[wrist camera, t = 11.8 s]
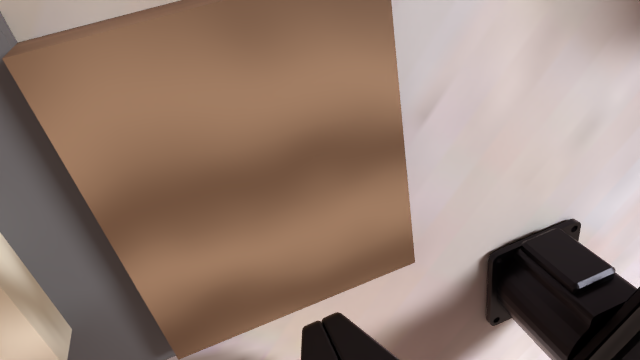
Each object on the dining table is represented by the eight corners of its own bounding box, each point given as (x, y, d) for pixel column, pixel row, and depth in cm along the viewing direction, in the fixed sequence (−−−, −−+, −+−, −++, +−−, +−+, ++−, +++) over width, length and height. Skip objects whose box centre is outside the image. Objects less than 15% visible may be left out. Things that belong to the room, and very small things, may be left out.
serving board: (395, 239, 24) (414, 262, 22) (175, 326, 22) (178, 359, 20) (362, -47, 16) (387, -43, 15) (17, 42, 14) (1, 58, 13)
